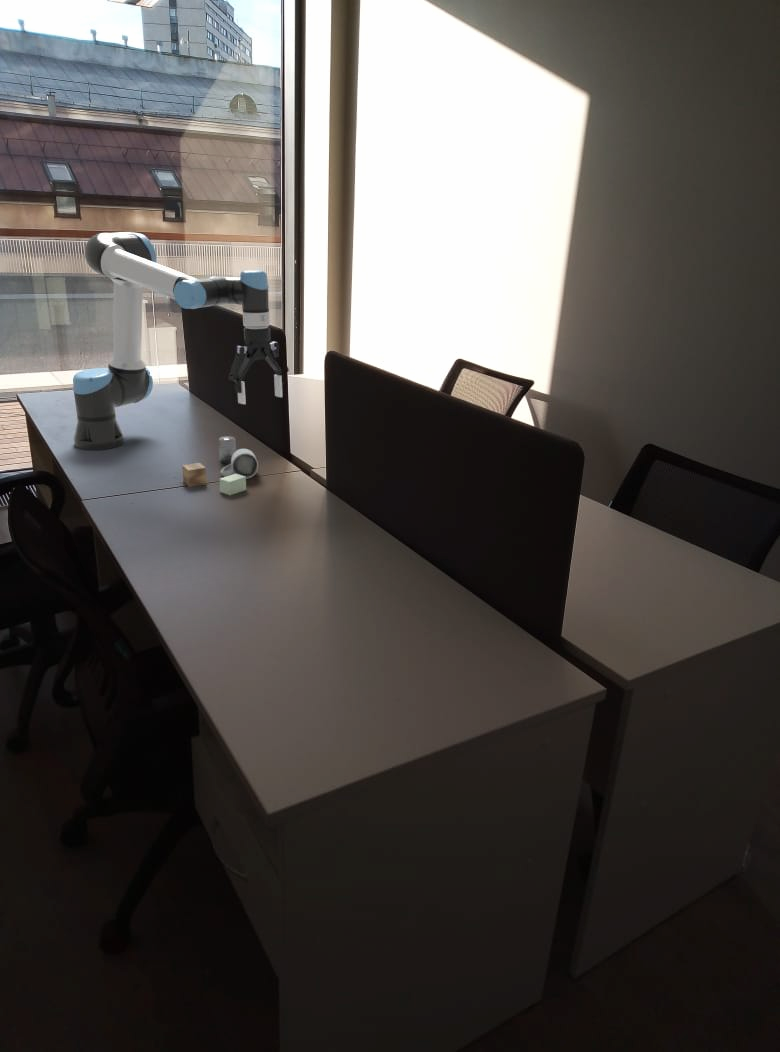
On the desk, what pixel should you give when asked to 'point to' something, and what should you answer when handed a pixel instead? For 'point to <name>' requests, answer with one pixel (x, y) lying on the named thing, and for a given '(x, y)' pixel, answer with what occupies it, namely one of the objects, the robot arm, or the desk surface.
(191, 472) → the walnut block
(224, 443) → the dark metal cylinder
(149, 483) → the desk surface
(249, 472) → the ceramic mug
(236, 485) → the sage green block
